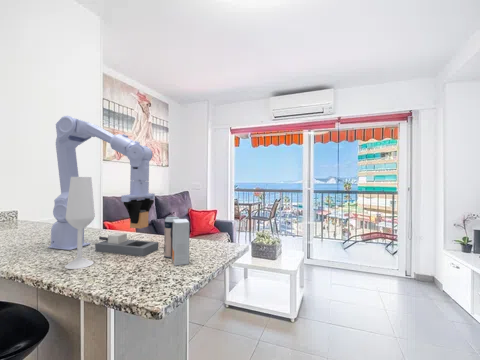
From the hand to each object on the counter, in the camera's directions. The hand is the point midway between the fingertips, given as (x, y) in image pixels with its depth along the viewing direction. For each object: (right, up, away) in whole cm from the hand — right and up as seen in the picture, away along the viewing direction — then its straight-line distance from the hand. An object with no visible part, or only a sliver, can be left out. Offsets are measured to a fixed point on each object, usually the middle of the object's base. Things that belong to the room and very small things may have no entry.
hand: (138, 222), depth 81 cm
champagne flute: (-10, -9, -14) cm, 20 cm away
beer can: (+12, -10, -5) cm, 17 cm away
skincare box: (+16, -10, -10) cm, 22 cm away
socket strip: (-4, -9, 0) cm, 10 cm away
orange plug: (0, -2, 0) cm, 2 cm away
